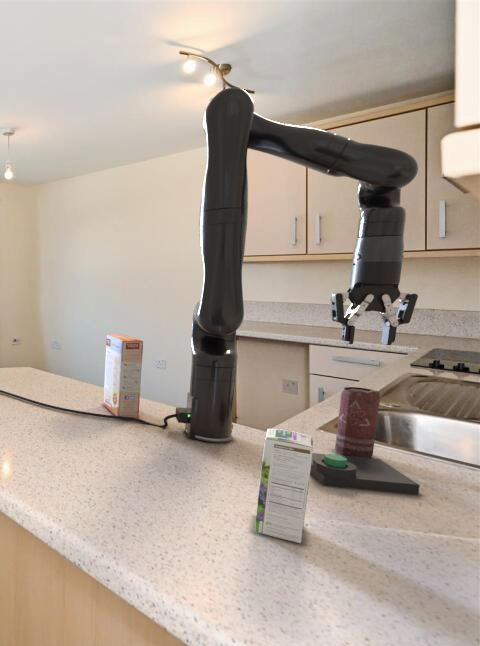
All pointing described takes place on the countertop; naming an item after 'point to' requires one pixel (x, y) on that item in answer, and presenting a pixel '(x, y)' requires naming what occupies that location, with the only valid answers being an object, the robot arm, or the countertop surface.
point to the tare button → (335, 460)
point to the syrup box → (284, 484)
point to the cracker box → (123, 375)
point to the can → (357, 422)
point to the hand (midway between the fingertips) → (366, 343)
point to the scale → (362, 475)
